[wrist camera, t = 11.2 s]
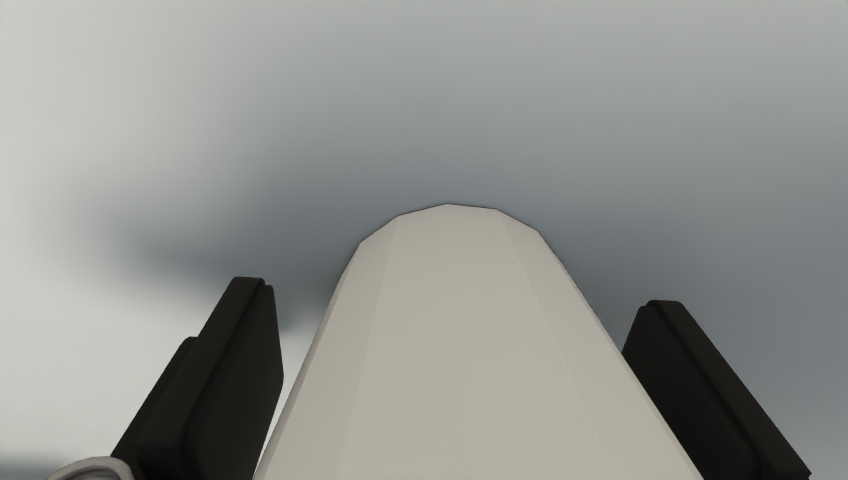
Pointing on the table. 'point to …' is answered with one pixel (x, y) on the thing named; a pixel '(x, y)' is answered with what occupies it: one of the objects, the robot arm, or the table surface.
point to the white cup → (466, 368)
